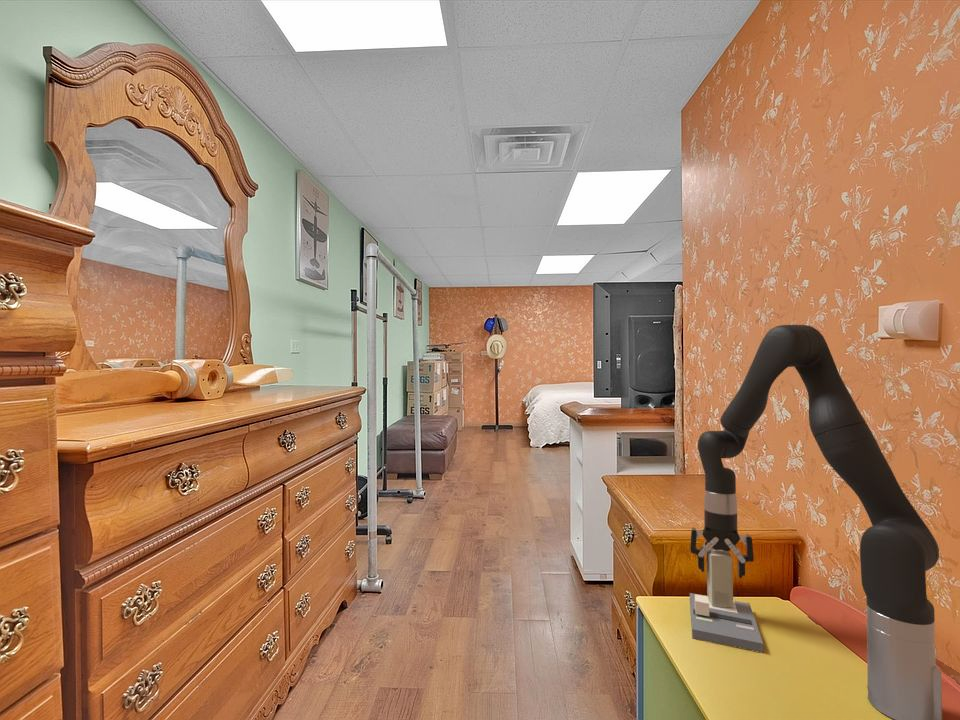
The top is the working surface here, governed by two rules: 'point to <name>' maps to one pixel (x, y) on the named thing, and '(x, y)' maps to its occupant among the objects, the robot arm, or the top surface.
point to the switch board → (727, 625)
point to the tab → (701, 605)
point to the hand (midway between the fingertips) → (721, 573)
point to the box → (719, 578)
